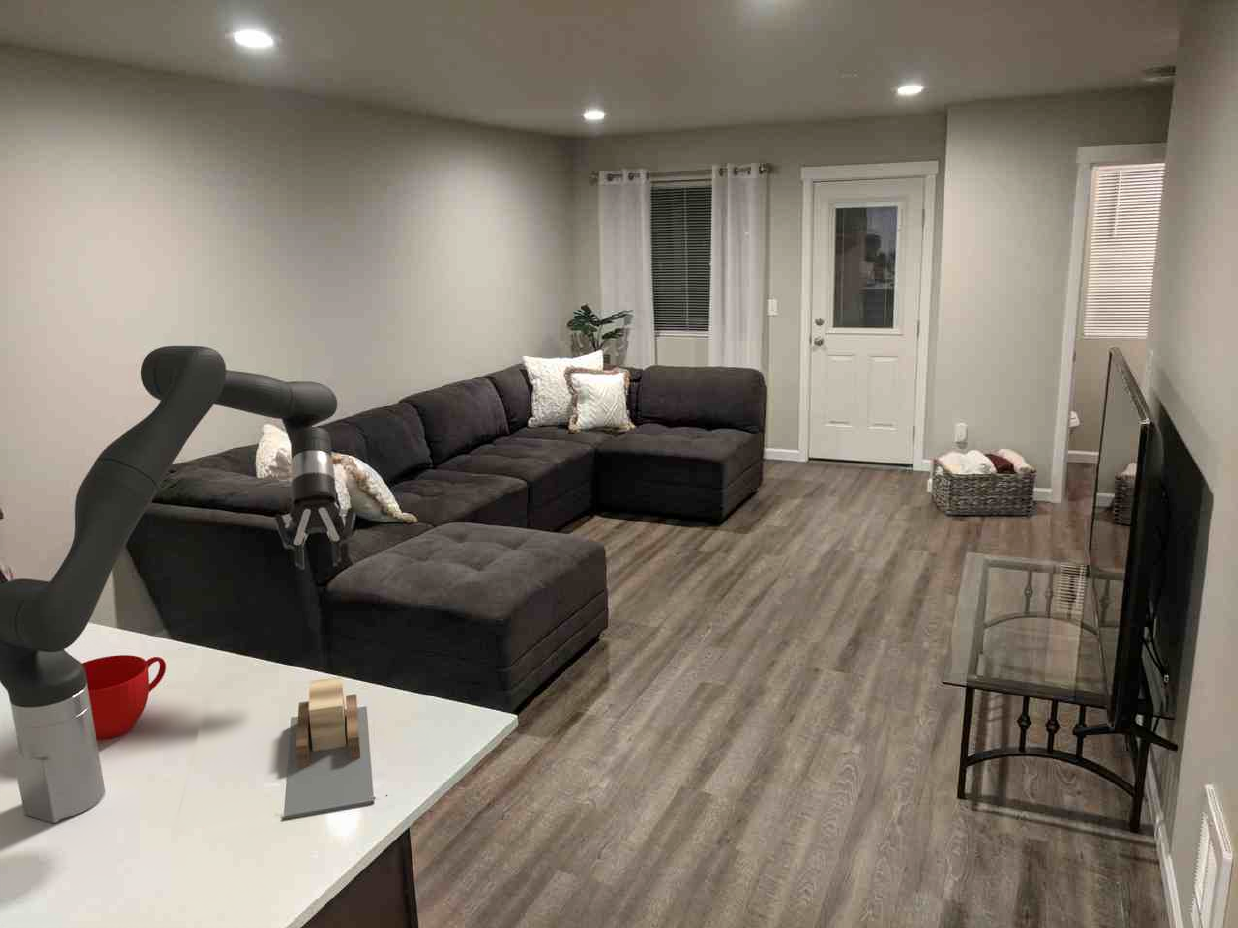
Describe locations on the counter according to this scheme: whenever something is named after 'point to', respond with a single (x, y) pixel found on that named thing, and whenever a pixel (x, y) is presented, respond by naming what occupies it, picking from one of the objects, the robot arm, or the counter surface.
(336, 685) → the oak block
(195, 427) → the robot arm
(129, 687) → the ceramic cup
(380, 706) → the counter surface
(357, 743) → the chute rails
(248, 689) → the counter surface
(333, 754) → the chute board
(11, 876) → the counter surface
